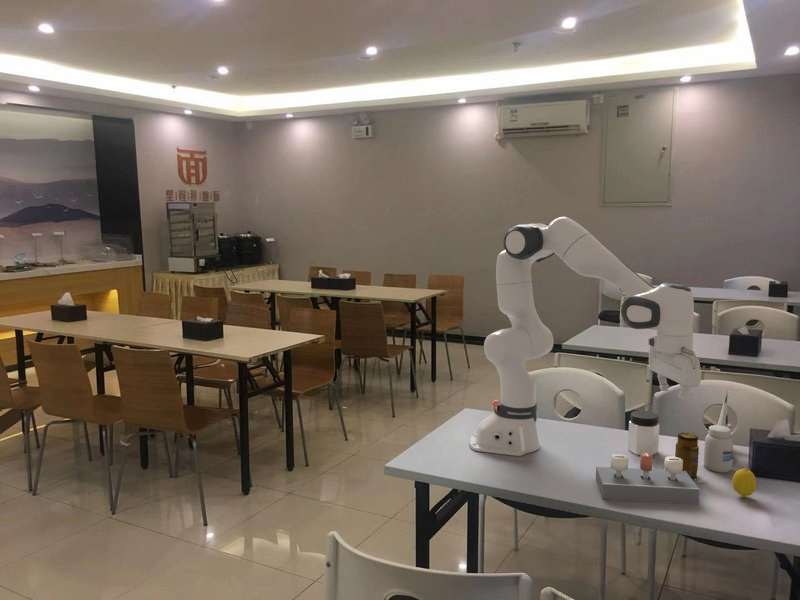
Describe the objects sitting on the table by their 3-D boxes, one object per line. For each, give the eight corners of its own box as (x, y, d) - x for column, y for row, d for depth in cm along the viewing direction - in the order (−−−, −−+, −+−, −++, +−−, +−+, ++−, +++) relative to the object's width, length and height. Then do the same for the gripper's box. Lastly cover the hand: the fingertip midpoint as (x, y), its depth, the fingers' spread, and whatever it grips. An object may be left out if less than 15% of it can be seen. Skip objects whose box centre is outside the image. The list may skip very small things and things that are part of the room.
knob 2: (666, 487, 170) (667, 461, 169) (661, 480, 174) (663, 455, 173) (683, 488, 169) (685, 462, 168) (678, 481, 173) (680, 456, 172)
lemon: (728, 492, 172) (730, 463, 171) (749, 492, 172) (751, 464, 171) (736, 501, 167) (738, 472, 166) (758, 502, 166) (761, 473, 165)
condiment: (692, 470, 187) (694, 430, 185) (706, 482, 179) (708, 441, 177) (667, 470, 187) (669, 431, 185) (680, 482, 179) (682, 441, 177)
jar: (649, 458, 196) (650, 420, 194) (623, 451, 201) (625, 414, 200) (661, 450, 202) (663, 414, 200) (637, 444, 207) (638, 408, 206)
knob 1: (611, 484, 172) (612, 459, 171) (608, 477, 176) (609, 453, 175) (628, 485, 171) (629, 460, 170) (625, 478, 176) (626, 453, 174)
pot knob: (640, 485, 171) (642, 456, 170) (638, 480, 174) (639, 451, 173) (652, 485, 171) (653, 456, 170) (649, 480, 174) (651, 452, 173)
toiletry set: (730, 475, 183) (735, 406, 180) (701, 470, 187) (706, 402, 184) (736, 447, 204) (741, 385, 201) (710, 443, 208) (714, 381, 205)
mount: (602, 499, 169) (603, 484, 168) (595, 479, 181) (596, 465, 180) (698, 504, 165) (699, 489, 165) (685, 484, 177) (685, 470, 177)
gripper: (708, 351, 159) (706, 405, 161) (666, 336, 179) (665, 384, 181) (684, 352, 159) (682, 406, 160) (644, 337, 179) (643, 386, 180)
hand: (673, 395), depth 171 cm, fingers open, 8 cm apart
